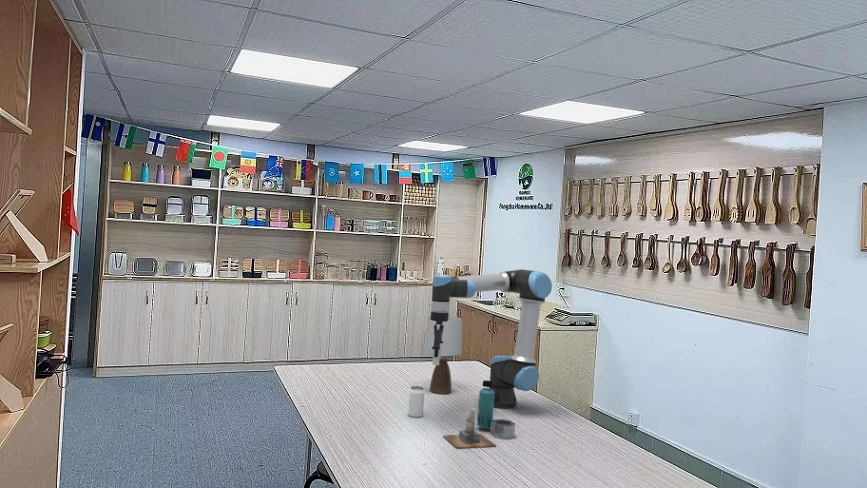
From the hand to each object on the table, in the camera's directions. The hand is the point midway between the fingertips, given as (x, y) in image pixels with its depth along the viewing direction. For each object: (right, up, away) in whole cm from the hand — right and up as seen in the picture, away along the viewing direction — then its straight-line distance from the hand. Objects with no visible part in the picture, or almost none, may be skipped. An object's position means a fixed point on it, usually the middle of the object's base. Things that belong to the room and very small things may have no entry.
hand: (436, 361), depth 275 cm
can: (-9, -24, +6) cm, 27 cm away
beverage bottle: (+20, -26, -8) cm, 34 cm away
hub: (+26, -27, -14) cm, 40 cm away
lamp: (+2, -24, +52) cm, 58 cm away
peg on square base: (+12, -26, -25) cm, 38 cm away
